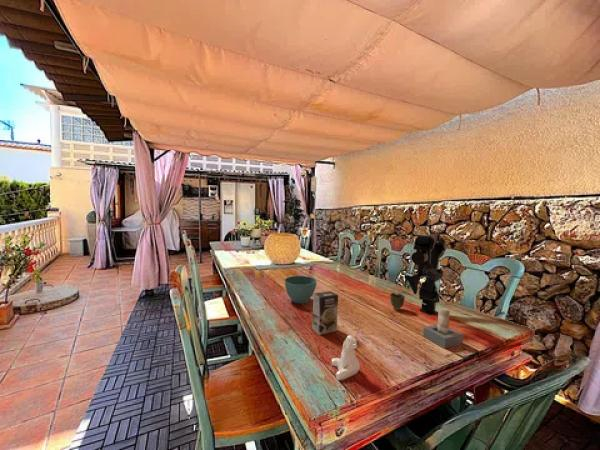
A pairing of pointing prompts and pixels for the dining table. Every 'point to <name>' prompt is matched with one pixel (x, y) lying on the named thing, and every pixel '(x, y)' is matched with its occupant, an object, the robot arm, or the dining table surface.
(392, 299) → the cup
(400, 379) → the dining table surface
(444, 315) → the peg
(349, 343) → the sitting furry creature
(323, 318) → the coffee box
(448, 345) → the socket block
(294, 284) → the plant pot
